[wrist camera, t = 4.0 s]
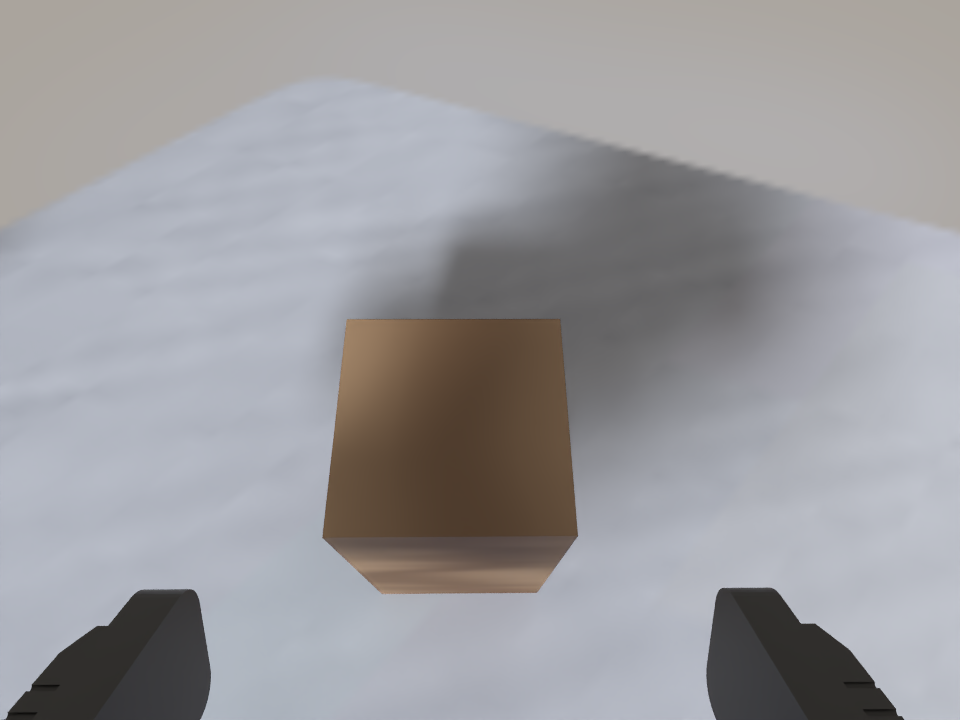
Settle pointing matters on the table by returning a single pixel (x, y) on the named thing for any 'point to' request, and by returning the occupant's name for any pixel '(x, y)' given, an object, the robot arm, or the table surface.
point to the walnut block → (452, 455)
